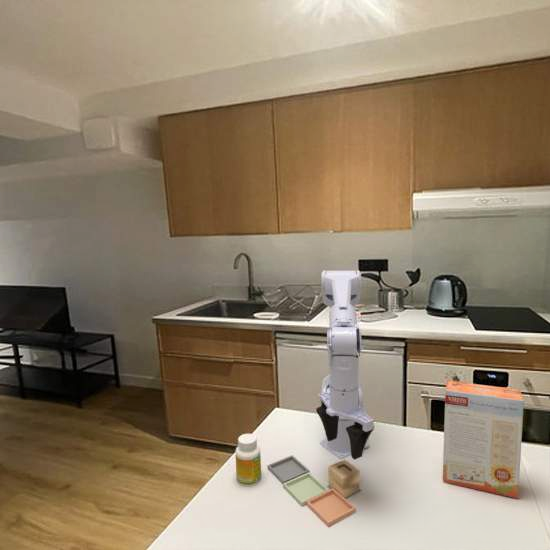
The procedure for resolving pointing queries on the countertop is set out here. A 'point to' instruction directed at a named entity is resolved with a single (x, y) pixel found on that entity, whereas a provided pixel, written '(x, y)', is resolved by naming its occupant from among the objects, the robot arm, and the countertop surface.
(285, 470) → the charcoal dish
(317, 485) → the sage dish
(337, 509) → the terracotta dish
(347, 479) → the letter cube
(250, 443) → the supplement bottle
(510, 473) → the cracker box
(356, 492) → the slate mat
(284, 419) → the countertop surface
